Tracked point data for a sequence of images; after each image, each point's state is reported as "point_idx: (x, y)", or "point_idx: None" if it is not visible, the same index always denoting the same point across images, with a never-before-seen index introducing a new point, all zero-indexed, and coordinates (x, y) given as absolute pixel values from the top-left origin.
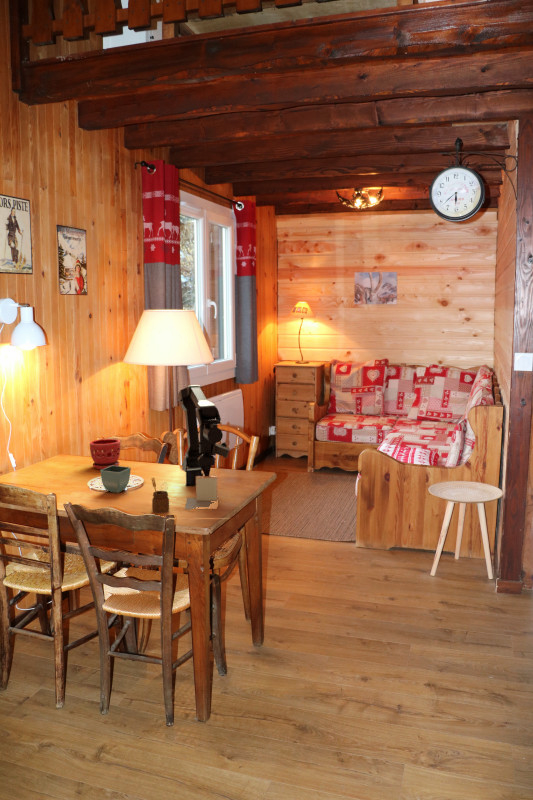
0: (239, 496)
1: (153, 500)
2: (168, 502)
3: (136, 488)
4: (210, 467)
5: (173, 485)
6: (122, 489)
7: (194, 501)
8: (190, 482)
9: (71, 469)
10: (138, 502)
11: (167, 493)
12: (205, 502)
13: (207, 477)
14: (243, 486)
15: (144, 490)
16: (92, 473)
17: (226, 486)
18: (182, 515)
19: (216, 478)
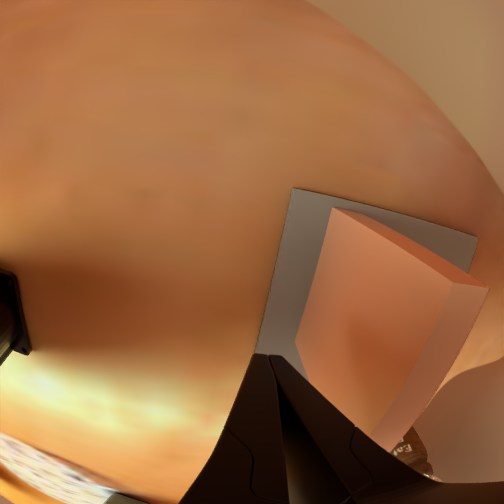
0: (265, 30)
1: None
2: (417, 442)
3: (94, 474)
4: (407, 466)
5: (25, 387)
6: (132, 502)
7: None
8: (10, 341)
9: (8, 487)
10: None
11: (426, 470)
12: None
13: (435, 390)
14: (44, 7)
15: (111, 468)
16: (12, 480)
17: (12, 110)
18: (452, 372)
19: (481, 293)
